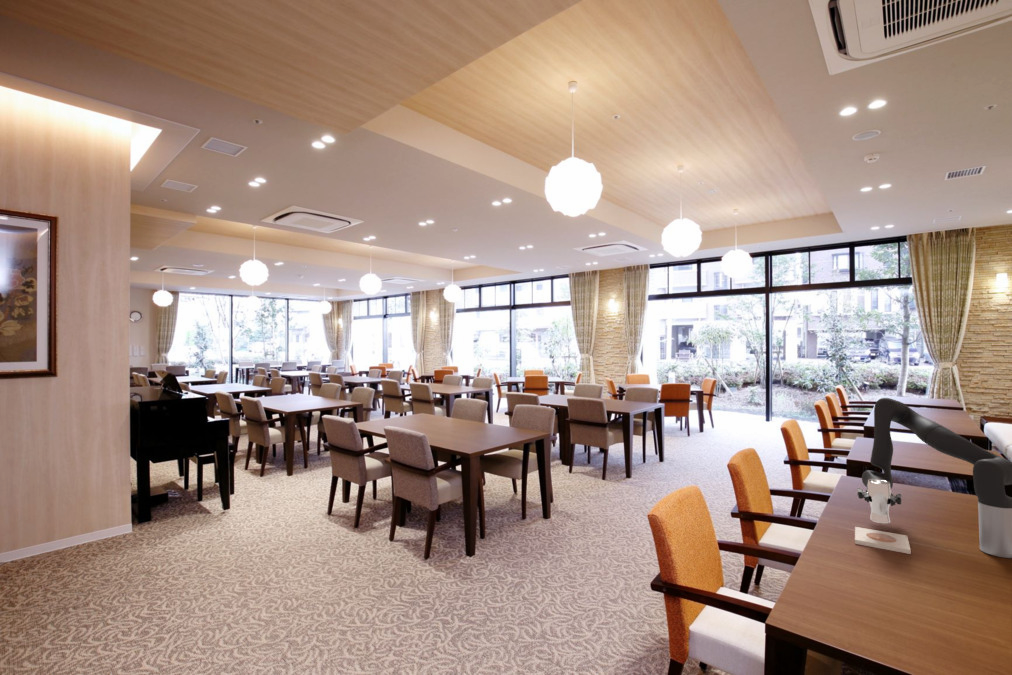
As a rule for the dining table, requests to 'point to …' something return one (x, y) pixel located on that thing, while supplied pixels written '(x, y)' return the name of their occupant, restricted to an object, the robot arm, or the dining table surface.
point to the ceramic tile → (882, 540)
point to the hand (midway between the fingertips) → (879, 501)
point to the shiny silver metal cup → (879, 500)
